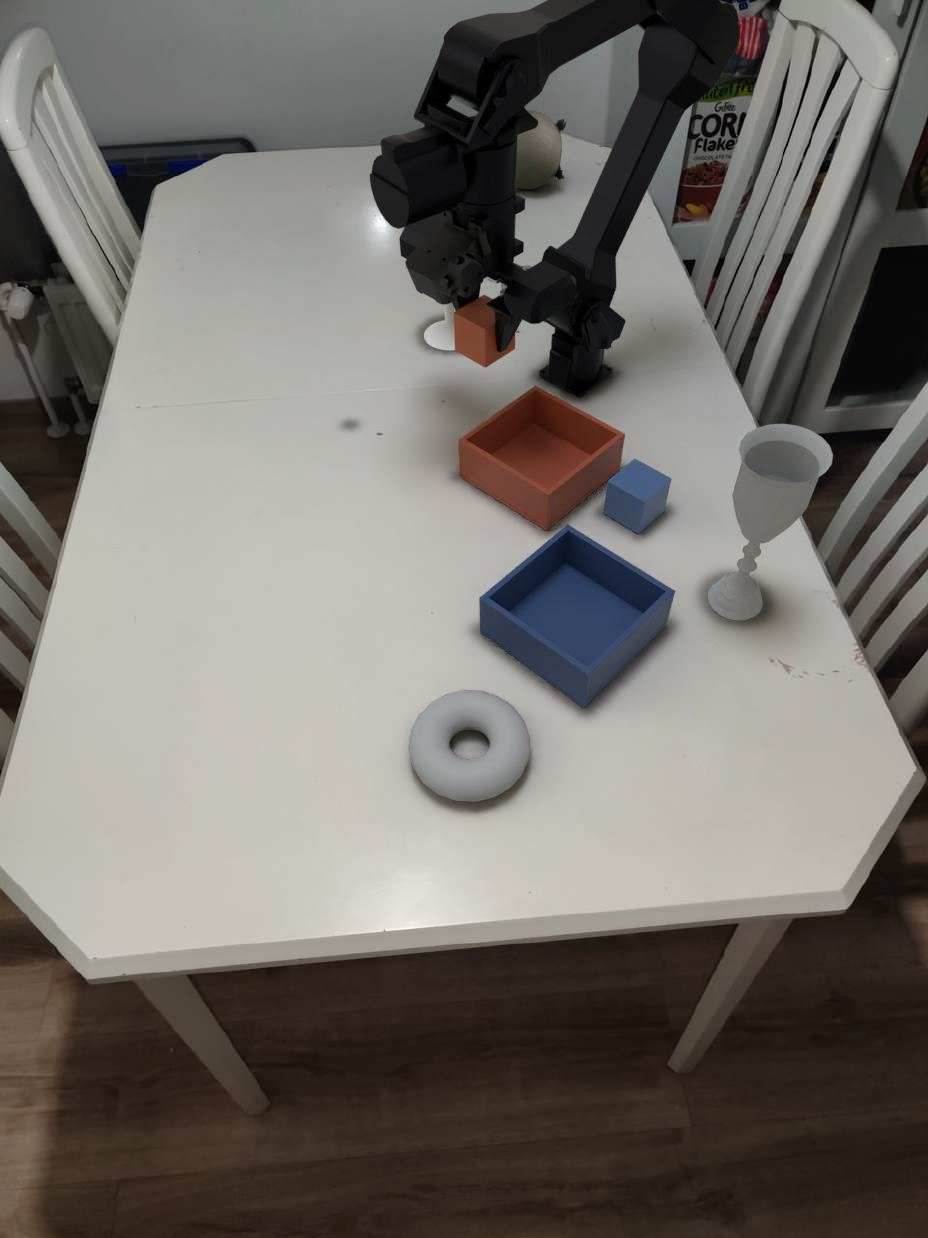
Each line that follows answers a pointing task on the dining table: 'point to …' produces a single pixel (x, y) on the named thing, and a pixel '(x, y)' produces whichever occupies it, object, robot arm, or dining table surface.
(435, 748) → the donut
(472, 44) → the robot arm
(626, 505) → the blue block
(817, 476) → the chalice
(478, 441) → the terracotta bin
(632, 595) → the blue bin
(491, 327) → the terracotta block
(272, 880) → the dining table surface
